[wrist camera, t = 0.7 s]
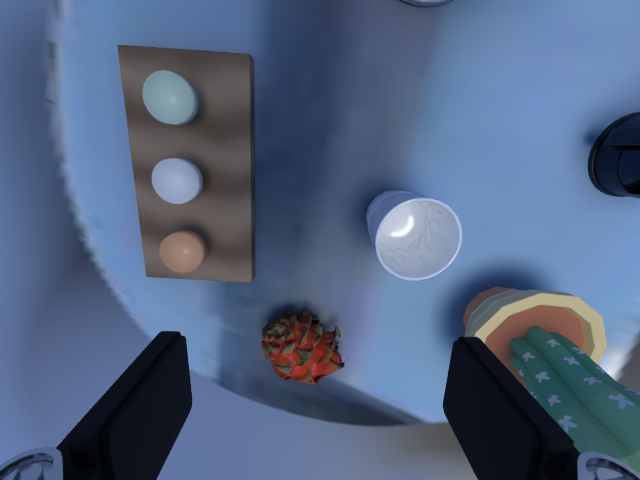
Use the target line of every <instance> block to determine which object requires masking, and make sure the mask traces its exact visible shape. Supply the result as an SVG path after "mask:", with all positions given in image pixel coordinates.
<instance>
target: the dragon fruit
mask: <svg viewBox="0 0 640 480" xmlns="http://www.w3.org/2000/svg"><path fill="white" fill-rule="evenodd" d="M311 321H312V323H311ZM318 325H319V319H317V318H312V317H311V314H310V313H309V312H308V311H305V310H304V311H303V316H302V317H300V318H296V316H295V315H294V314H293V313H292V312H290V311H284V312H283V315H282V317H276V318H274V319H273V320H272V321H270V322H269V323H268V324H266V327H264V329H263V334H262V336H263V341H262V342H261V345H262V349H263V352H264V354H265V357H266V359H267V360H270V361H271V362H272V364H273V368H274V370H275V372H276V374H277V375H278V376H279V377H280V378H281V379H283V380H289V379H290V380H296V381H298V382H306V383H309V384H317V383H318V381H319V380H320V379H321V378H323V377H324V376H327V375H328V374H331V373H333V372H334V371H336V370H339V369H341V368H343V367H344V362H343V363H342V359H341V355H340V354H339V353H337V352H338V345H337V344H338V343H339V342H337V341H335V342H334V343H332V341H333V340H334V339H335V337H336V335H338V336H339V337H340V336H341V334H340V330H339V328H338V327H337V326H335V330H334V331H332V332H323V331H322V329H323V328H322V327H321V326H318ZM347 360H348V359H347Z"/></svg>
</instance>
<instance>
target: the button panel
mask: <svg viewBox="0 0 640 480" xmlns="http://www.w3.org/2000/svg"><path fill="white" fill-rule="evenodd" d="M118 52H119V60H120V68H121V76H122V84H123V92H124V100H125V108H126V116H127V124H128V132H129V140H130V148H131V156H132V164H133V172H134V180H135V188H136V196H137V205H138V213H139V221H140V229H141V237H142V245H143V253H144V261H145V269H146V277H159V278H177V279H196V280H214V281H232V282H250V283H252V281H253V279H254V277H255V168H254V59H253V58H252V57H251V55H250V54H241V53H226V52H212V51H198V50H184V49H169V48H155V47H141V46H127V45H118ZM161 70H166V71H171V72H173V73H175V74H177V75H179V76H181V77H183V78H185V79H186V80H188V81H189V82H190V83H191V84H192V86H193V87H194V89H195V90H196V93H197V95H198V100H199V107H198V111H197V114H196V116H195V117H194V118H193V120H191V121H190V122H189V123H187V124H184V125H173V124H167V123H163V122H161V121H159V120H157V119H156V118H154V117H153V116H152V115H151V114H150V113H149V111H148V110H147V108H146V106H145V104H144V101H143V94H142V92H143V85H144V83H145V81H146V79H147V78H148V77H149V76H150V75H151V74H152V73H154V72H156V71H161ZM170 158H183V159H187V160H189V161H191V162H192V163H194V164H195V165H196V166H197V167H198V169H199V170H200V172H201V174H202V177H203V188H202V191H201V193H200V194H199V195H198V196H197V197H196V198H195V199H193V200H191V201H188V202H186V203H183V204H172V203H169V202H167V201H165V200H163V199H162V198H161V197H160V196H159V195H158V194H157V193H156V191H155V190H154V187H153V185H152V172H153V169H154V167H155V166H156V165H157V164H158V163H159V162H160V161H162V160H165V159H170ZM179 230H190V231H193V232H195V233H197V234H198V235H199V236H201V237H202V239H203V240H204V242H205V244H206V247H207V255H206V258H205V260H204V261H203V262H202V263H201V264H200V265H199V266H198V267H197V268H196V269H195V270H193V271H191V272H188V273H179V272H175V271H173V270H171V269H169V268H168V267H167V266H166V265H165V264H164V263H163V261H162V260H161V257H160V253H159V248H160V244H161V242H162V241H163V240H164V239H165V238H166V237H167V236H169V235H171V234H172V233H174V232H176V231H179Z"/></svg>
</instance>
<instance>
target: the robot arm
mask: <svg viewBox="0 0 640 480" xmlns="http://www.w3.org/2000/svg"><path fill="white" fill-rule="evenodd" d="M402 1H405V2H407V3H410V4H412V5H417V6H425V7H427V6H437V5H441V4H444V3H447V2H450V1H452V0H402ZM191 406H192V392H191V383H190V374H189V364H188V354H187V344H186V338H185V336H181V334H180V332H177V331H162V332H160V333H159V334H158V335H157V336H156V337H155V338H154V339H153V340H152V341H151V343H150V344H149V345H148V346H147V347H146V348H145V349H144V350H143V351H142V353H141V354H140V355H139V356H138V357H137V358H136V359H135V360H134V362H133V363H132V364H131V365H130V366H129V367H128V368H127V369H126V370H125V372H124V373H123V374H122V375H121V376H120V377H119V378H118V379H117V381H116V382H115V383H114V384H113V385H112V386H111V387H110V388H109V389H108V390H107V392H106V393H105V394H104V395H103V396H102V397H101V398H100V399H99V400H98V402H97V403H96V404H95V405H94V406H93V407H92V408H91V409H90V410H89V412H88V413H87V414H86V415H85V416H84V417H83V418H82V419H81V421H80V422H79V423H78V424H77V425H76V426H75V427H74V428H73V429H72V431H71V432H70V433H69V434H68V435H67V436H66V437H65V439H64V440H63V441H62V442H61V443H60V444H59V445H58V446H57V448H53V447H41V448H35V449H32V450H29V451H26V452H23V453H21V454H19V455H17V456H15V457H13V458H11V459H9V460H7V461H6V462H4V463H3V464H2V465H0V480H156V479H157V477H158V475H159V473H160V471H161V469H162V467H163V465H164V463H165V461H166V459H167V457H168V455H169V453H170V451H171V449H172V447H173V445H174V443H175V441H176V439H177V437H178V435H179V433H180V431H181V429H182V427H183V425H184V423H185V421H186V419H187V417H188V415H189V413H190V410H191ZM443 409H444V413H445V416H446V418H447V419H448V421H449V423H450V425H451V427H452V429H453V431H454V433H455V435H456V437H457V439H458V441H459V443H460V445H461V447H462V449H463V451H464V453H465V455H466V457H467V459H468V461H469V463H470V465H471V467H472V469H473V471H474V473H475V475H476V476H477V479H478V480H640V473H638V472H637V471H636V470H634V469H633V468H631V467H630V466H628V465H627V464H625V463H623V462H621V461H619V460H617V459H616V458H613V457H611V456H608V455H605V454H603V453H598V452H584V453H582V454H581V453H580V452H579V451H578V450H577V449H576V448H575V447H574V441H573V440H572V439H571V437H570V436H569V435H568V434H567V433H566V432H565V431H564V430H563V429H562V428H561V427H560V425H559V424H558V423H557V422H556V421H555V420H554V419H553V418H552V417H551V416H550V415H549V413H548V412H547V411H546V410H545V409H544V408H543V407H542V406H541V405H540V404H539V403H538V401H537V400H536V399H535V398H534V397H533V396H532V395H531V394H530V393H529V392H528V391H527V389H526V388H525V387H524V386H523V385H522V384H521V383H520V382H519V381H518V380H517V379H516V377H515V376H514V375H513V374H512V373H511V372H510V371H509V370H508V369H507V368H506V367H505V365H504V364H503V363H502V362H501V361H500V360H499V359H498V358H497V357H496V356H495V354H494V353H493V352H492V351H491V350H490V349H489V348H488V347H487V346H486V345H485V344H484V342H483V341H482V340H481V339H480V338H478V337H464V336H461V337H459V339H458V341H454V343H453V348H452V354H451V359H450V365H449V371H448V377H447V383H446V389H445V394H444V400H443Z"/></svg>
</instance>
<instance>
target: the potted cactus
mask: <svg viewBox="0 0 640 480" xmlns="http://www.w3.org/2000/svg"><path fill="white" fill-rule="evenodd" d="M462 321H463V324H464V327H465V330H466V332H465V335H464V337H478V338H480V339H481V340H482V341H483V342H484V344H485V345H486V346H487V347H488V348H489V349H490V350H491V351H492V352H493V353H494V354H495V356H496V357H497V358H498V359H499V360H500V361H501V362H502V363H503V364H504V365H505V367H506V368H507V369H508V370H509V371H510V372H511V373H512V374H513V375H514V376H515V377H516V379H517V380H518V381H519V382H520V383H521V384H522V385H523V386H524V387H525V388H526V389H527V391H528V392H529V393H530V394H531V395H532V396H533V397H534V398H535V399H536V400H537V401H538V403H539V404H540V405H541V406H542V407H543V408H544V409H545V410H546V411H547V412H548V413H549V415H550V416H551V417H552V418H553V419H554V420H555V421H556V422H557V423H558V424H559V425H560V427H561V428H562V429H563V430H564V431H565V432H566V433H567V434H568V435H569V436H570V437H571V439H572V440H573V441H574V447H575V448H576V449H577V450H578V451H579V452H580V453H581V454H582V453H584V452H598V453H603V454H605V455H608V456H611V457H613V458H616V459H617V460H619V461H621V462H623V463H625V464H627V465H628V466H630V467H631V468H633V469H634V470H636V471H637V472H638V473H640V394H639V393H637V392H635V391H633V390H631V389H629V388H627V387H625V386H624V385H621V384H619V383H618V382H616V381H615V380H614V379H613V378H612V377H610V376H609V375H608V374H607V373H606V372H605V371H604V370H603V369H602V368H601V367H600V366H598V364H599V362H600V360H601V358H602V356H603V353H604V351H605V349H606V347H607V341H606V336H605V330H604V324H603V319H602V316H601V315H600V314H598V313H597V312H596V311H595V310H594V309H592V308H591V307H590V306H589V305H587V304H586V303H585V302H584V301H582V300H581V299H580V298H579V297H577V296H574V295H571V294H567V293H563V292H553V291H543V290H533V289H530V290H527V291H526V290H516V289H514V288H508V287H498V286H496V287H493V288H491V289H488V290H485V291H483V292H480V293H478V294H477V295H476V296H475V297H474V298H473V299H472V300H471V301H470V302H469V303H468V304H467V306H466V309H465V313H464V316H463V320H462Z"/></svg>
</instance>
